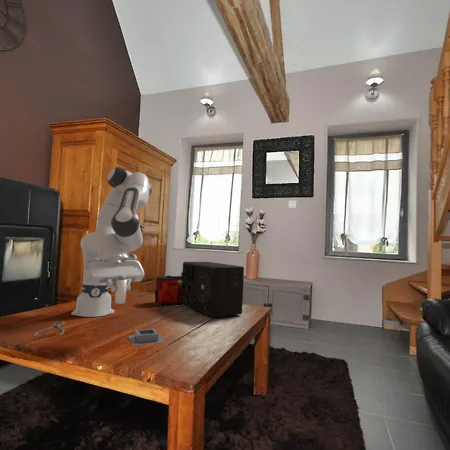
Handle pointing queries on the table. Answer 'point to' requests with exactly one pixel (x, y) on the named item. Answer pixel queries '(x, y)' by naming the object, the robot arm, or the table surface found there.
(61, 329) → the pliers
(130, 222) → the robot arm
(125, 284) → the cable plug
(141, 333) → the socket block
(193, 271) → the vintage radio
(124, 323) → the table surface
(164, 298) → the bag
